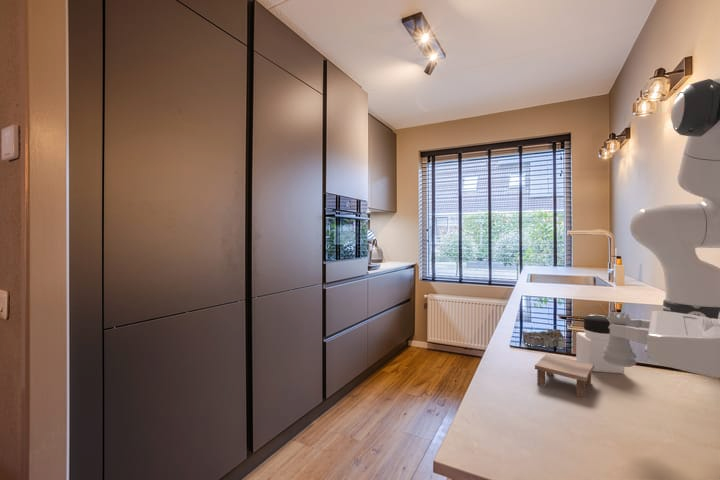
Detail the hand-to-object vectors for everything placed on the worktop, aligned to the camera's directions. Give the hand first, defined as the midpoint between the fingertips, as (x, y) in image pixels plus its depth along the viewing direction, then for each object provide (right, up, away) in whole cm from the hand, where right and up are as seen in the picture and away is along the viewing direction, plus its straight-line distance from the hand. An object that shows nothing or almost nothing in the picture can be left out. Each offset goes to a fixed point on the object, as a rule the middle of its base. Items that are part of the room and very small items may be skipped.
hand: (612, 326), depth 55 cm
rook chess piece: (+1, -6, -1) cm, 6 cm away
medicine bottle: (+15, -16, +24) cm, 33 cm away
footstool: (+1, -16, +15) cm, 22 cm away
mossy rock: (+11, -16, +41) cm, 45 cm away
